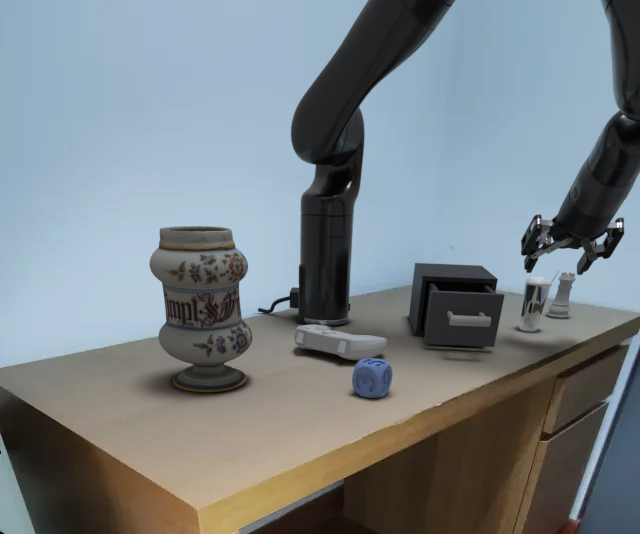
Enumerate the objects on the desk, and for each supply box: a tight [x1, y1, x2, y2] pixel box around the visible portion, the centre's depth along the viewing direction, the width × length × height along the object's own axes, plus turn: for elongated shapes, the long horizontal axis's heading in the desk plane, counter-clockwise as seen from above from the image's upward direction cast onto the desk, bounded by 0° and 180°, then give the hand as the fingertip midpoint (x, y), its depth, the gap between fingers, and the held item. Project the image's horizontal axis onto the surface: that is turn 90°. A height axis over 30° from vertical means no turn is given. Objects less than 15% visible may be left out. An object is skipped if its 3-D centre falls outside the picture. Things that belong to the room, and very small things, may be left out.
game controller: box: [293, 321, 388, 361], centre depth 89 cm, size 14×4×10 cm
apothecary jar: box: [148, 225, 253, 393], centre depth 72 cm, size 12×12×18 cm
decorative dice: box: [351, 357, 393, 399], centre depth 74 cm, size 4×4×4 cm
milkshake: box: [518, 270, 560, 333], centre depth 104 cm, size 4×5×10 cm
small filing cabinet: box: [408, 262, 499, 337], centre depth 104 cm, size 15×13×10 cm
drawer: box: [421, 281, 505, 348], centre depth 94 cm, size 19×11×8 cm, turn 177°
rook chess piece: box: [546, 271, 576, 320], centre depth 115 cm, size 4×4×8 cm
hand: (553, 269), depth 96 cm, fingers open, 8 cm apart
